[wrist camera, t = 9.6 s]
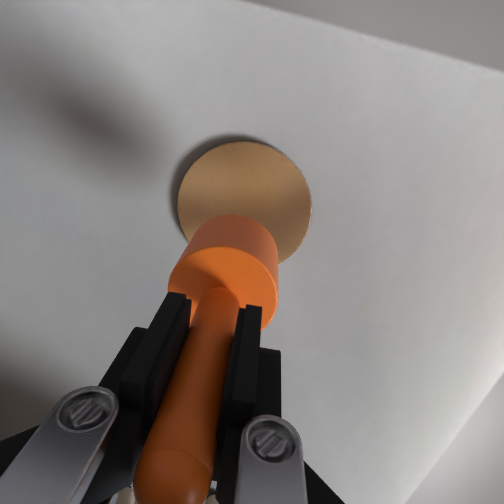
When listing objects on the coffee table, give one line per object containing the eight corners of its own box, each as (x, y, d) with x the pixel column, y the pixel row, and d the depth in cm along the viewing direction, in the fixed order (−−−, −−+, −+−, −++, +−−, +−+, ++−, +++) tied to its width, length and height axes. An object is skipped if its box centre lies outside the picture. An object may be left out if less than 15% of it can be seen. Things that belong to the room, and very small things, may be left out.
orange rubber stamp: (193, 206, 17) (35, 415, 6) (285, 221, 17) (301, 459, 6) (186, 286, 19) (55, 562, 8) (269, 300, 19) (259, 596, 8)
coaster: (156, 170, 24) (153, 172, 23) (285, 118, 22) (285, 118, 21) (211, 283, 27) (209, 287, 26) (327, 246, 25) (328, 249, 24)
